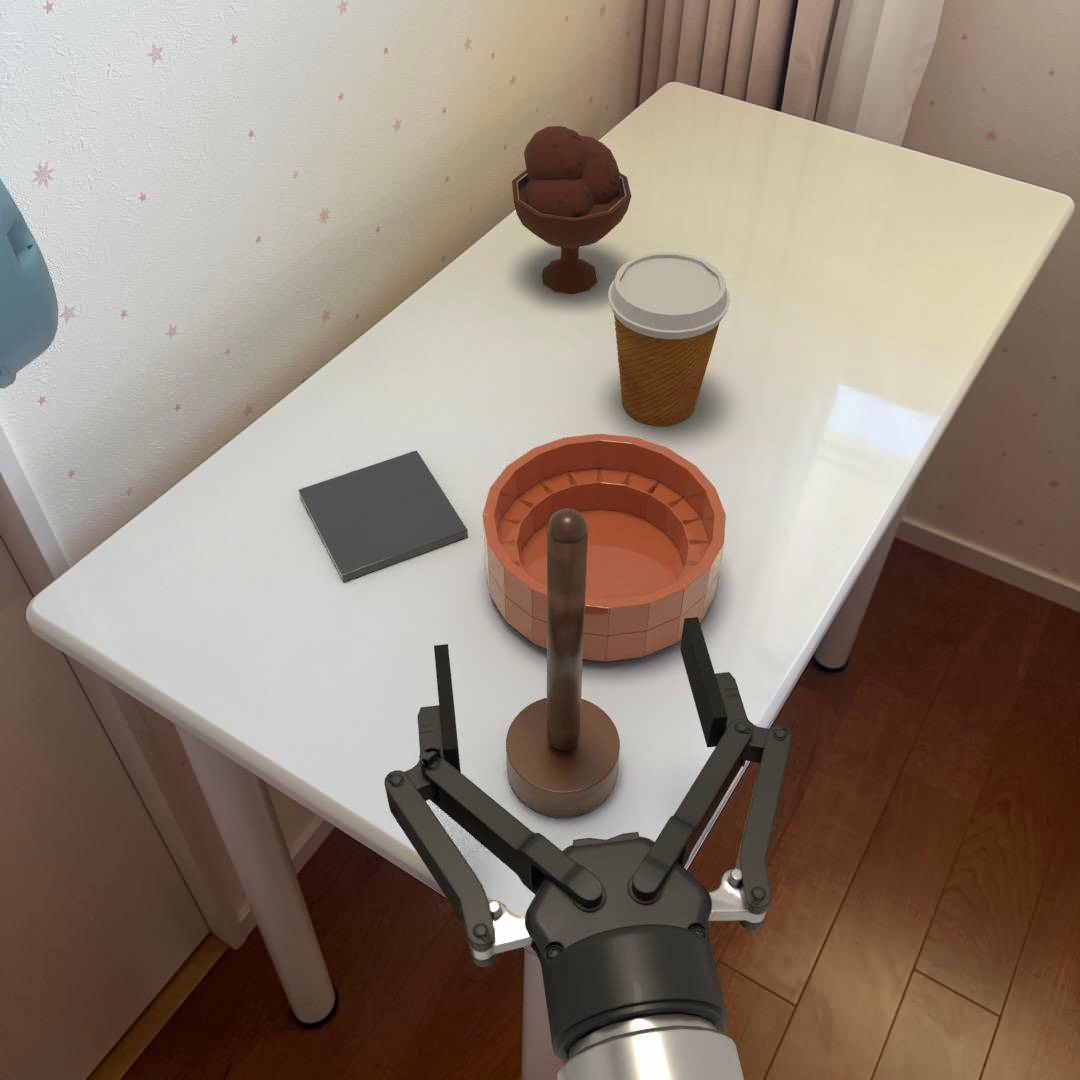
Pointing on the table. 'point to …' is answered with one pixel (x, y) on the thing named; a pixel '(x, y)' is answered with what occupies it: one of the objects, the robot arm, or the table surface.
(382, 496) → the dark grey square tile
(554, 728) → the paper towel holder
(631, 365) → the disposable coffee cup
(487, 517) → the terracotta round bowl
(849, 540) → the table surface
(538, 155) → the ice cream bowl
